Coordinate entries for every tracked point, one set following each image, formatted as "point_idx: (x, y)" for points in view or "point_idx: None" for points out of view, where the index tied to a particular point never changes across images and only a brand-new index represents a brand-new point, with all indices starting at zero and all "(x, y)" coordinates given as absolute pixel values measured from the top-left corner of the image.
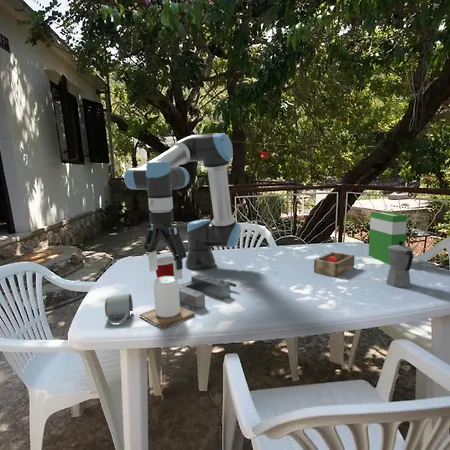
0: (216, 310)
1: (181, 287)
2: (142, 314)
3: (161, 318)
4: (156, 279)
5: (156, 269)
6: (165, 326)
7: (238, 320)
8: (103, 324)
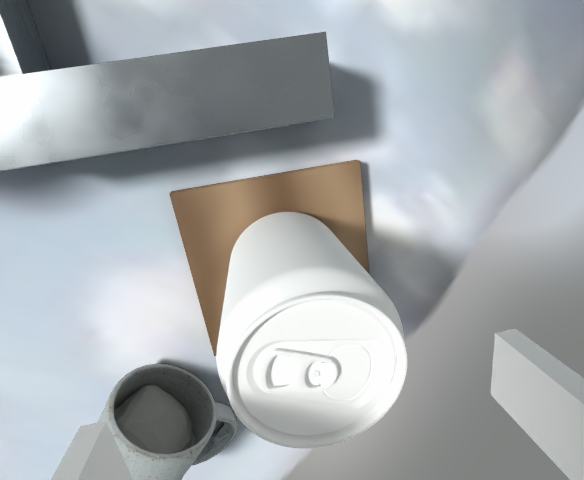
0: (383, 34)
1: (102, 96)
2: None
3: None
4: (254, 424)
5: (110, 437)
6: None
7: (537, 24)
8: None
